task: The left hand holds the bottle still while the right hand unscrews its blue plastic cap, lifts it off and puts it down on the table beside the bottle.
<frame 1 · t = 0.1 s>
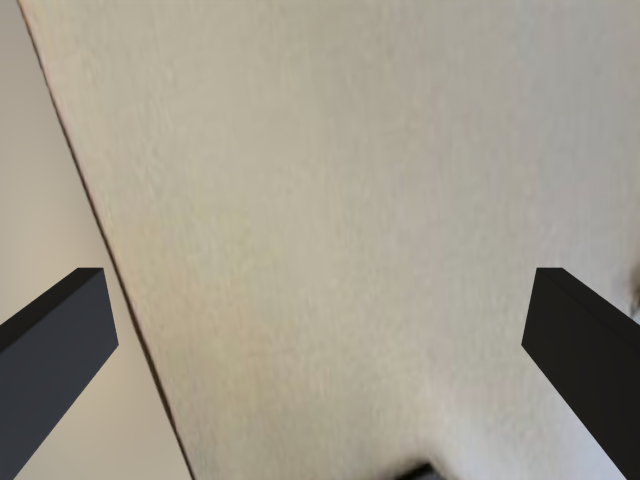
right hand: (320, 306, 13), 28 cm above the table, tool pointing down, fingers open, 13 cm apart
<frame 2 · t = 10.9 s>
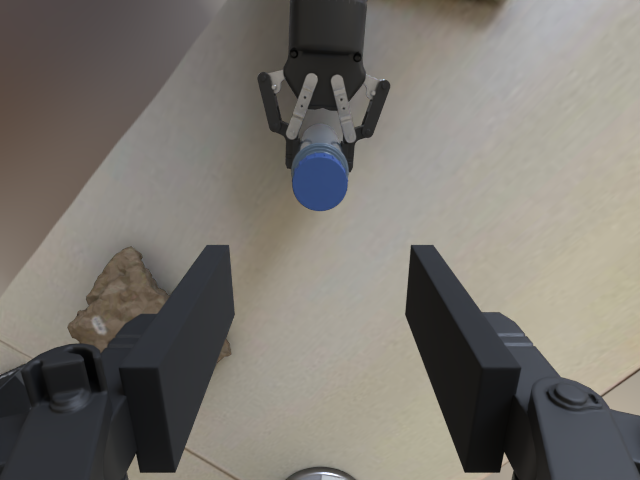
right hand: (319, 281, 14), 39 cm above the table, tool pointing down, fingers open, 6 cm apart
left hand: (318, 173, 46), fingers closed on bottle, 4 cm apart
stone: (157, 319, 60), on the table
cap: (319, 183, 29), point 23 cm above the table, screwed on, not yet turned
graphics card box: (48, 405, 65), on the table
bottle: (320, 142, 51), on the table, touching left hand
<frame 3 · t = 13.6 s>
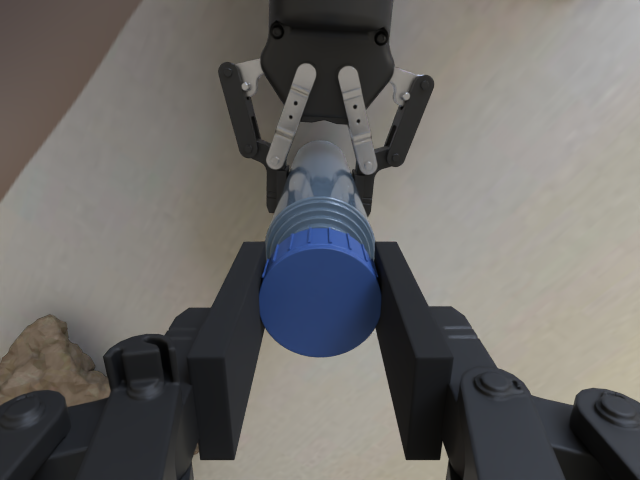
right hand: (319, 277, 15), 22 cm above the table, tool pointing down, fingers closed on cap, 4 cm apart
left hand: (318, 219, 30), fingers closed on bottle, 4 cm apart
stone: (98, 404, 44), on the table
cap: (320, 301, 13), point 23 cm above the table, screwed on, not yet turned, touching right hand
bottle: (320, 167, 35), on the table, touching left hand
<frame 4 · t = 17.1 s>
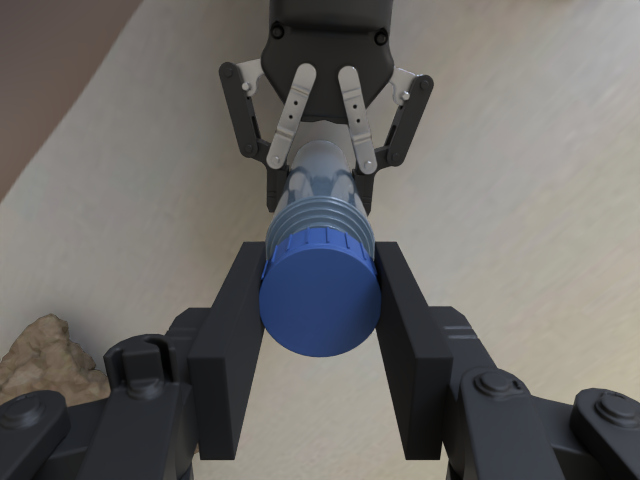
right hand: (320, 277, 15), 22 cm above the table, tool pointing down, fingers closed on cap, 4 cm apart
left hand: (318, 218, 30), fingers closed on bottle, 4 cm apart
stone: (98, 403, 44), on the table
cap: (320, 300, 13), point 23 cm above the table, turned 116° so far, risen 0.1 cm, still on its thread, touching right hand
bottle: (320, 167, 35), on the table, touching left hand
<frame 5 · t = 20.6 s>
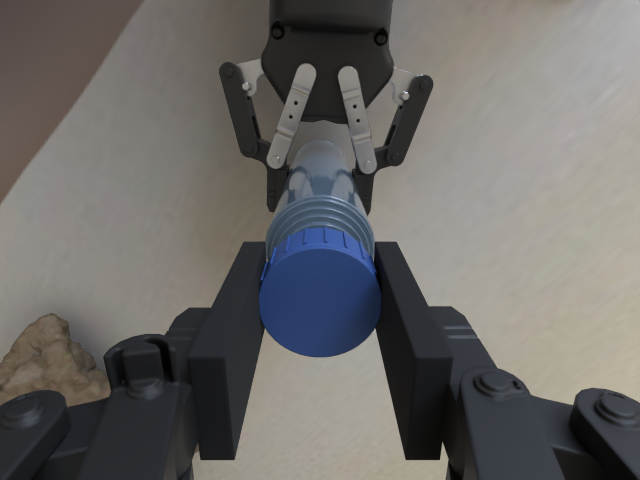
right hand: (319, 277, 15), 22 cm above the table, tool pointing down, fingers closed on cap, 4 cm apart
left hand: (318, 218, 30), fingers closed on bottle, 4 cm apart
stone: (99, 403, 44), on the table
cap: (320, 300, 13), point 23 cm above the table, turned 231° so far, risen 0.2 cm, still on its thread, touching right hand
bottle: (320, 167, 35), on the table, touching left hand
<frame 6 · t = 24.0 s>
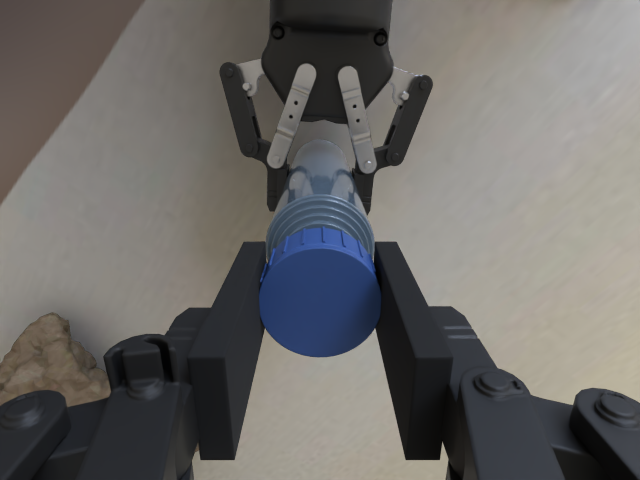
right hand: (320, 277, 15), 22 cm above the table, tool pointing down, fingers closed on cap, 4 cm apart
left hand: (318, 217, 30), fingers closed on bottle, 4 cm apart
stone: (99, 402, 44), on the table
cap: (320, 300, 13), point 24 cm above the table, turned 347° so far, risen 0.3 cm, still on its thread, touching right hand
bottle: (320, 166, 35), on the table, touching left hand
when the right hand's fingers open (1 cm above the table, at t = 31.4 s): cap stays where it is, point 2 cm above the table.
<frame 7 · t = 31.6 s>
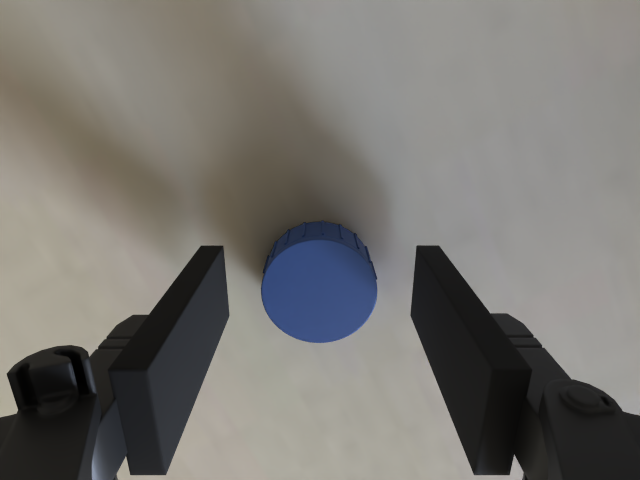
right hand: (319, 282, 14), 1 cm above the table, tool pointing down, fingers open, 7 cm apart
cap: (319, 289, 14), point 2 cm above the table, off its thread
when the left hand's fingers open (6 cm above the table, at t = 32.7 s): bottle stays where it is, on the table.
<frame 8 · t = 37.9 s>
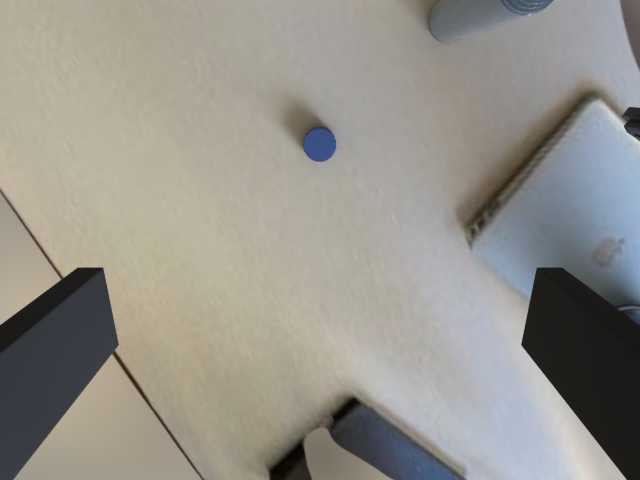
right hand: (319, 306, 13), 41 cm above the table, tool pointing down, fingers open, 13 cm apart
cap: (319, 145, 49), point 2 cm above the table, off its thread
bottle: (449, 20, 46), on the table
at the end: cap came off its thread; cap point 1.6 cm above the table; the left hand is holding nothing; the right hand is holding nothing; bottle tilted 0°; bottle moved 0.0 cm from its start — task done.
